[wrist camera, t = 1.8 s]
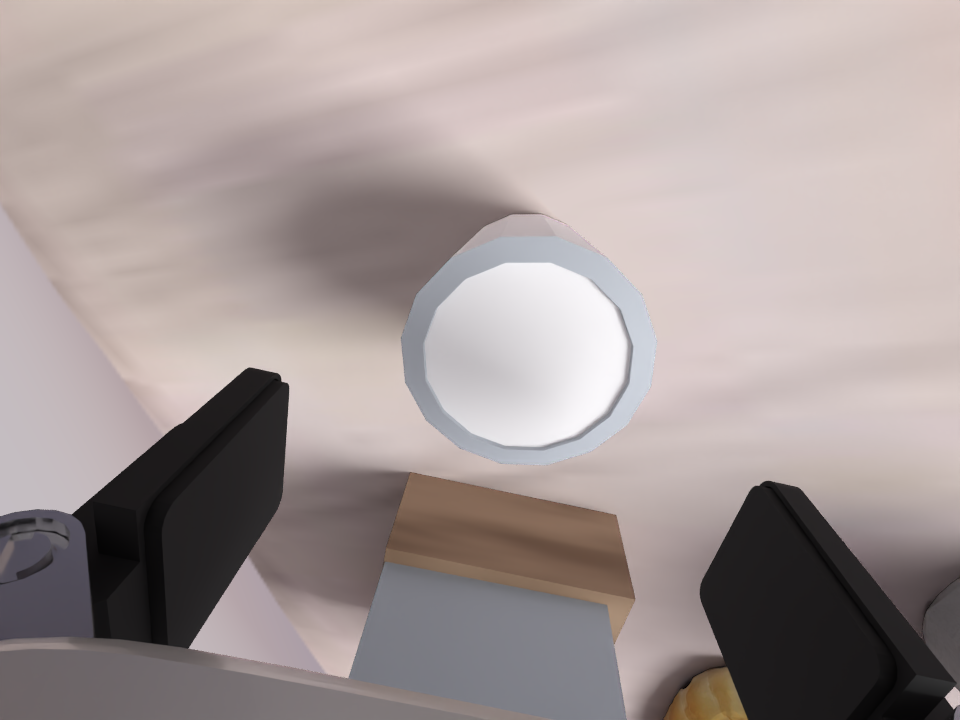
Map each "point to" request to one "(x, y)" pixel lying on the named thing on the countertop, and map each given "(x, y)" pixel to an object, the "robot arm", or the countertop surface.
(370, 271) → the countertop surface
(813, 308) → the countertop surface
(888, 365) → the countertop surface
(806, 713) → the robot arm
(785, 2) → the countertop surface
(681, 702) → the pastry
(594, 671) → the grey top block
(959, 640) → the coffeepot
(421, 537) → the walnut base block
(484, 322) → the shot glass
